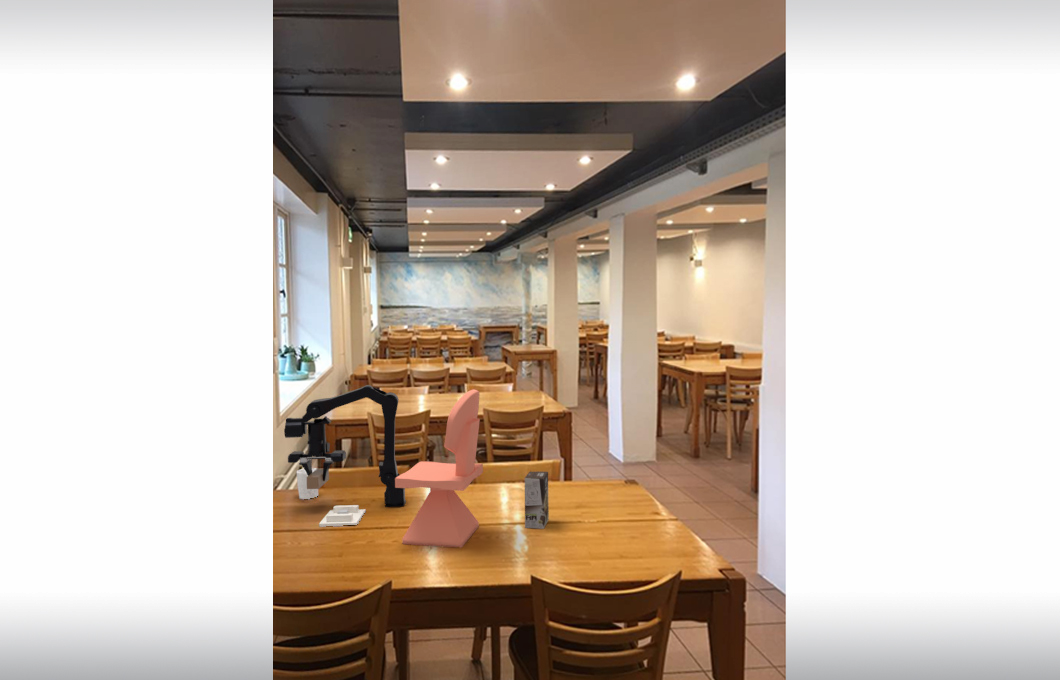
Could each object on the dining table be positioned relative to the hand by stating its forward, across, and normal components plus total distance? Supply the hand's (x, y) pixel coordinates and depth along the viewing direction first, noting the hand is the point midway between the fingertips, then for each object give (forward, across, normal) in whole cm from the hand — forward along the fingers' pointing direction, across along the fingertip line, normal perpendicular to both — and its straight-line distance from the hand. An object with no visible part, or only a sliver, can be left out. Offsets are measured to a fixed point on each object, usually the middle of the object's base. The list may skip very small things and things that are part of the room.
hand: (318, 480), depth 230 cm
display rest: (+10, -11, +12) cm, 19 cm away
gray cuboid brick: (+1, 0, 0) cm, 1 cm away
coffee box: (+10, -75, +22) cm, 79 cm away
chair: (+10, -46, +30) cm, 56 cm away
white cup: (+10, +8, -15) cm, 20 cm away
